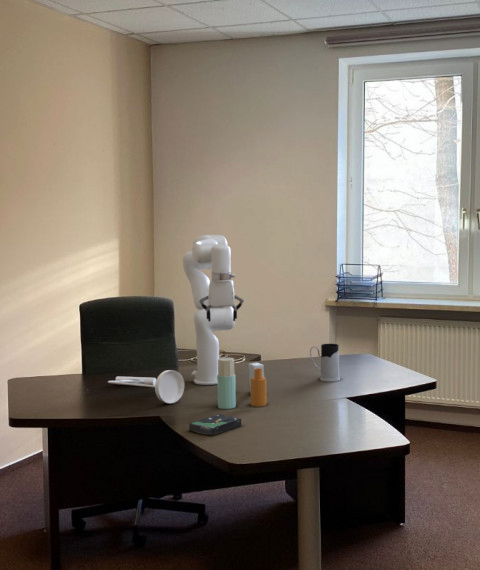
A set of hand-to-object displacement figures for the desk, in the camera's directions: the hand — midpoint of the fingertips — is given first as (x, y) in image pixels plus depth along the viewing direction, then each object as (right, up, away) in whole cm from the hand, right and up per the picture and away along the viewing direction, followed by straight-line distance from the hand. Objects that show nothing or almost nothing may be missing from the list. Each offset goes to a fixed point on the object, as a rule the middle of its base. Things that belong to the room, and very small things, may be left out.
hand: (221, 320), depth 288 cm
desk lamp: (-31, -30, +10) cm, 44 cm away
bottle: (+3, -31, -14) cm, 34 cm away
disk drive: (+2, -34, -43) cm, 54 cm away
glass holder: (+42, -27, +33) cm, 60 cm away
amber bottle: (+15, -31, -11) cm, 36 cm away
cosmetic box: (+13, -30, +6) cm, 33 cm away
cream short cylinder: (+3, -19, -15) cm, 25 cm away
